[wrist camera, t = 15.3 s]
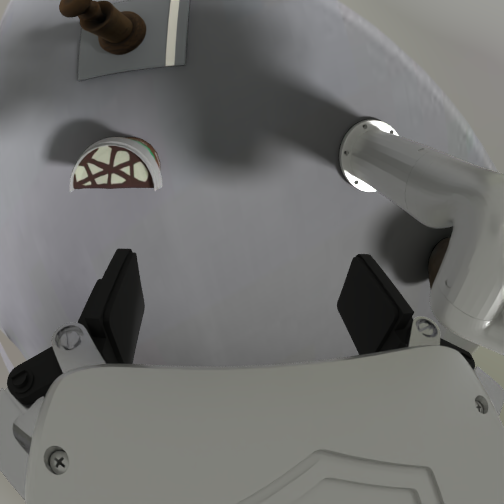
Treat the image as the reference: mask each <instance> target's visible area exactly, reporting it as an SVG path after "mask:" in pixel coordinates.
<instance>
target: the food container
mask: <svg viewBox="0 0 504 504" xmlns="http://www.w3.org/2000/svg"><path fill="white" fill-rule="evenodd" d="M161 187H162V177H161V173H160V160H159V158H158V155H157V152H156V151H155V150H154V148H153V147H152V146H151V144H149V143H148V142H146V141H145V140H143V139H140V138H136V137H128V138H122V137H111V138H105V139H102V140H99V141H98V142H96V143H94V144H92V145H91V146H90V147H89V148H87V149H86V150H85V152H84V153H83V154H82V155H81V156H80V158H79V159H78V161H77V162H76V164H75V166H74V168H73V171H72V175H71V179H70V192H72V191H73V190H75V189H82V188H106V189H114V188H154V191H156V190H158V189H160V188H161Z"/></svg>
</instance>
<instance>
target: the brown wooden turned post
mask: <svg viewBox="0 0 504 504" xmlns="http://www.w3.org/2000/svg"><path fill="white" fill-rule="evenodd" d="M59 9H60V12H61V14H62V15H64V16H66V17H76V16H78V17H79V19H80V25H81V27H82V28H83V29H84V30H86V31H88V32H90V33H92V34H95V35H97V36H98V41H99V44H100V46H101V47H102V49H104V50H105V51H107V52H109V53H111V54H115V55H123V54H127V53H129V52H131V51H133V50H134V49H136V48H137V47H138V46H139V45H140V44H141V43H142V41H143V40H144V38H145V35H146V24H145V22H144V20H143V19H142V18H141V17H140V16H139V15H138V14H136V13H134V12H131V11H123V12H120V11H119V10H118V9H117V8H115V7H114V6H113V5H112V4H111V3H110V2H108V1H98V2H96V1H92V0H61V2H60V5H59Z"/></svg>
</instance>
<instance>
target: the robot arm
mask: <svg viewBox="0 0 504 504" xmlns="http://www.w3.org/2000/svg"><path fill="white" fill-rule="evenodd" d="M344 151H345V153H344ZM339 162H340V167H341V170H342V173H343V175H344V176H345V178H346V180H347V181H348V182H349V183H350V184H351V185H353V186H354V187H356V188H357V189H359V190H362V191H366V192H373V191H378V192H379V193H380V194H382V195H383V196H385V197H386V198H388V199H389V200H390V201H392V202H393V203H395V204H396V205H397V206H399V207H400V208H401V209H403V210H404V211H406V212H407V213H408V214H410V215H411V216H412V217H414V218H415V219H416V220H418V221H419V222H420V223H422V224H424V225H425V226H428V227H431V228H447V227H451V226H453V231H452V234H451V238H450V241H449V245H448V248H447V251H446V253H445V256H444V259H443V261H442V264H441V266H440V269H439V271H438V273H437V276H436V278H435V280H434V283H433V286H432V289H431V292H430V307H431V310H432V312H433V314H434V316H435V317H436V319H437V320H438V321H439V322H440V323H441V324H442V325H443V326H444V327H445V328H447V329H448V330H449V331H451V332H453V333H454V334H456V335H458V336H460V337H462V338H464V339H467V340H469V341H471V342H473V343H476V344H478V345H481V346H483V347H485V348H488V349H490V350H492V351H495V352H497V353H500V354H502V355H504V174H502V173H499V172H496V171H492V170H489V169H486V168H483V167H480V166H477V165H474V164H471V163H468V162H466V161H463V160H461V159H458V158H456V157H453V156H451V155H448V154H446V153H444V152H441V151H438V150H436V149H433V148H431V147H428V146H426V145H423V144H420V143H418V142H415V141H412V140H409V139H406V138H403V137H400V136H398V134H397V133H396V131H395V130H394V129H393V128H392V127H391V126H390V125H388V124H387V123H385V122H382V121H379V120H364V121H361V122H359V123H357V124H355V125H354V126H353V127H352V128H351V129H350V130H349V131H348V132H347V133H346V135H345V137H344V138H343V141H342V143H341V146H340V152H339ZM354 181H355V182H354ZM144 306H145V305H144V298H143V293H142V287H141V281H140V275H139V269H138V262H137V256H136V253H132V250H131V249H117V250H116V252H115V254H114V256H113V258H112V260H111V262H110V264H109V266H108V268H107V270H106V272H105V274H104V276H103V278H102V279H99V280H98V281H97V282H96V284H95V286H94V288H93V290H92V292H91V294H90V297H89V299H88V301H87V303H86V305H85V307H84V310H83V312H82V314H81V316H80V319H79V321H78V323H76V322H70V323H66V324H63V325H61V326H60V327H58V328H57V329H56V330H55V332H54V333H53V335H52V339H51V343H52V347H50V348H48V349H47V350H45V351H43V352H41V353H40V354H38V355H36V356H34V357H32V358H31V359H29V360H27V361H25V362H24V363H22V364H20V365H18V366H17V367H15V368H14V369H13V370H12V371H11V372H10V374H9V377H8V380H7V386H8V387H7V389H5V390H4V389H3V388H2V389H1V390H0V471H1V472H2V473H3V475H4V476H5V477H6V478H7V480H8V481H9V482H10V484H11V485H12V486H13V487H14V488H15V490H16V491H17V492H18V493H19V494H20V495H21V497H22V498H23V499H24V500H25V504H504V427H503V425H502V422H501V420H500V418H499V415H500V412H501V409H502V405H503V402H504V390H503V388H502V387H501V386H500V385H499V384H498V383H497V382H496V381H495V380H493V379H492V378H491V377H490V376H489V375H488V374H486V373H485V372H484V371H483V370H481V369H480V368H479V367H476V368H475V362H474V360H473V358H472V356H471V354H470V353H469V352H467V351H465V350H463V349H461V348H459V347H457V346H455V345H453V344H451V343H449V342H447V341H445V340H443V339H441V338H440V329H439V327H438V326H437V324H436V323H435V322H434V321H432V320H431V319H429V318H427V317H423V316H419V317H416V318H415V319H414V320H413V318H412V315H413V313H414V311H413V310H412V309H411V307H410V306H409V304H408V303H407V302H406V300H405V299H404V298H403V296H402V295H401V294H400V292H399V291H398V290H397V288H396V287H395V286H394V284H393V283H392V282H391V280H390V279H389V278H388V277H387V275H386V274H385V273H384V271H383V270H382V269H381V268H380V266H379V265H378V264H377V263H376V261H375V260H374V259H373V258H372V256H371V255H369V254H358V255H357V256H356V257H354V258H353V260H352V262H351V265H350V268H349V271H348V274H347V277H346V280H345V283H344V286H343V289H342V291H341V294H340V297H339V300H338V302H337V309H338V311H339V313H340V315H341V317H342V319H343V321H344V323H345V325H346V327H347V330H348V332H349V334H350V336H351V338H352V340H353V342H354V344H355V346H356V348H357V351H358V353H359V355H358V356H351V357H344V358H336V359H328V360H319V361H310V362H299V363H287V364H273V365H255V366H164V365H144V364H132V363H133V358H134V353H135V349H136V344H137V339H138V335H139V330H140V326H141V322H142V317H143V313H144Z"/></svg>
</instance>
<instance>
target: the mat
mask: <svg viewBox="0 0 504 504" xmlns="http://www.w3.org/2000/svg"><path fill="white" fill-rule="evenodd" d="M112 5H113V6H114V7H115V8H117V9H118V10H119V11H120V12H123V11H131V12H134V13H136V14H138V15H139V16H140V17H141V18H142V19H143V20H144V22H145V24H146V35H145V38H144V40H143V41H142V43H141V44H140V45H139V46H138V47H137V48H136V49H134V50H133V51H131V52H129V53H127V54H123V55H115V54H111V53H109V52H107V51H105V50H104V49H102V47H101V46H100V44H99V41H98V36H97V35H95V34H92V33H90V32H88V31H86V30H84V29H83V28H82V29H81V38H80V49H79V65H78V81H82V80H86V79H90V78H95V77H99V76H104V75H109V74H115V73H121V72H127V71H133V70H141V69H149V68H158V67H169V66H184V65H185V59H186V42H187V28H188V17H189V6H190V0H128V1H123V2H118V3H114V4H112Z"/></svg>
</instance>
